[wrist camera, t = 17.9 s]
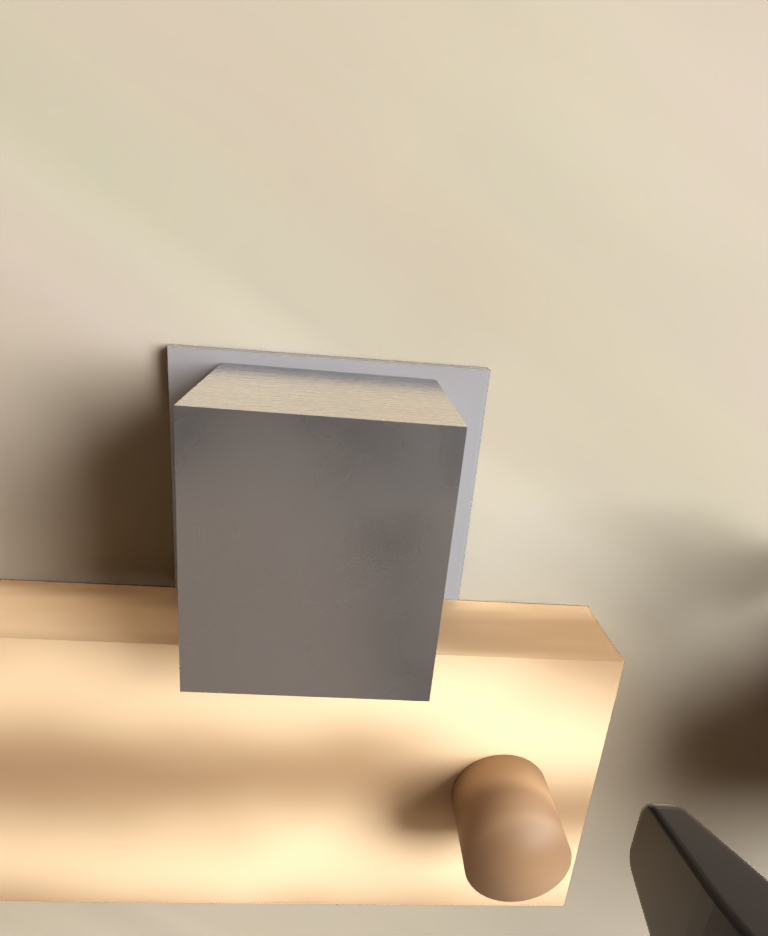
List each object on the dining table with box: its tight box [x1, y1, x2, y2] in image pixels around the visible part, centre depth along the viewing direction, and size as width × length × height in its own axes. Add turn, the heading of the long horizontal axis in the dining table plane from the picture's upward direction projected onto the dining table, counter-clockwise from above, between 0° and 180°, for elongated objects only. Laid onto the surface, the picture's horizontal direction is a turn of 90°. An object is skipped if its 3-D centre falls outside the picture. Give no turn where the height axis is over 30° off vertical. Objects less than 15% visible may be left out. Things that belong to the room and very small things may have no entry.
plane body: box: [0, 579, 624, 906], centre depth 16 cm, size 10×25×12 cm, turn 85°
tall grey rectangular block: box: [174, 363, 467, 701], centre depth 16 cm, size 6×7×5 cm
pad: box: [167, 344, 491, 600], centre depth 19 cm, size 8×9×1 cm
